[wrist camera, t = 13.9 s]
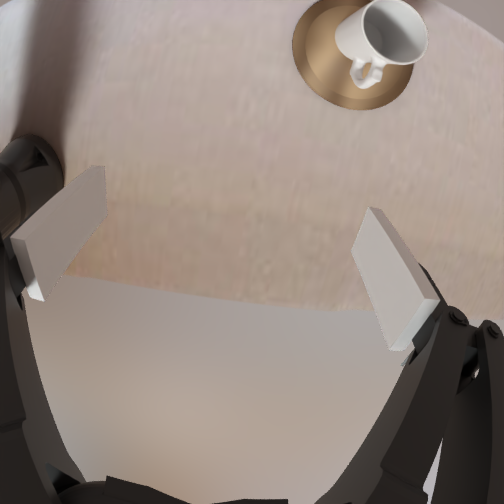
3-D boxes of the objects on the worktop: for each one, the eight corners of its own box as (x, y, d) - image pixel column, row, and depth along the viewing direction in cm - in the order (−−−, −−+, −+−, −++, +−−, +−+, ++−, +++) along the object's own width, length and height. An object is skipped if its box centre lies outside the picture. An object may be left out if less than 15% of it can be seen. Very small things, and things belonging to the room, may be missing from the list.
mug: (340, 7, 25) (371, -15, 15) (389, 29, 26) (435, 20, 16) (318, 75, 31) (341, 77, 21) (367, 94, 32) (407, 107, 22)
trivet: (279, 89, 33) (279, 89, 32) (306, -18, 24) (308, -20, 23) (392, 125, 35) (395, 126, 34) (420, 26, 26) (423, 25, 25)
